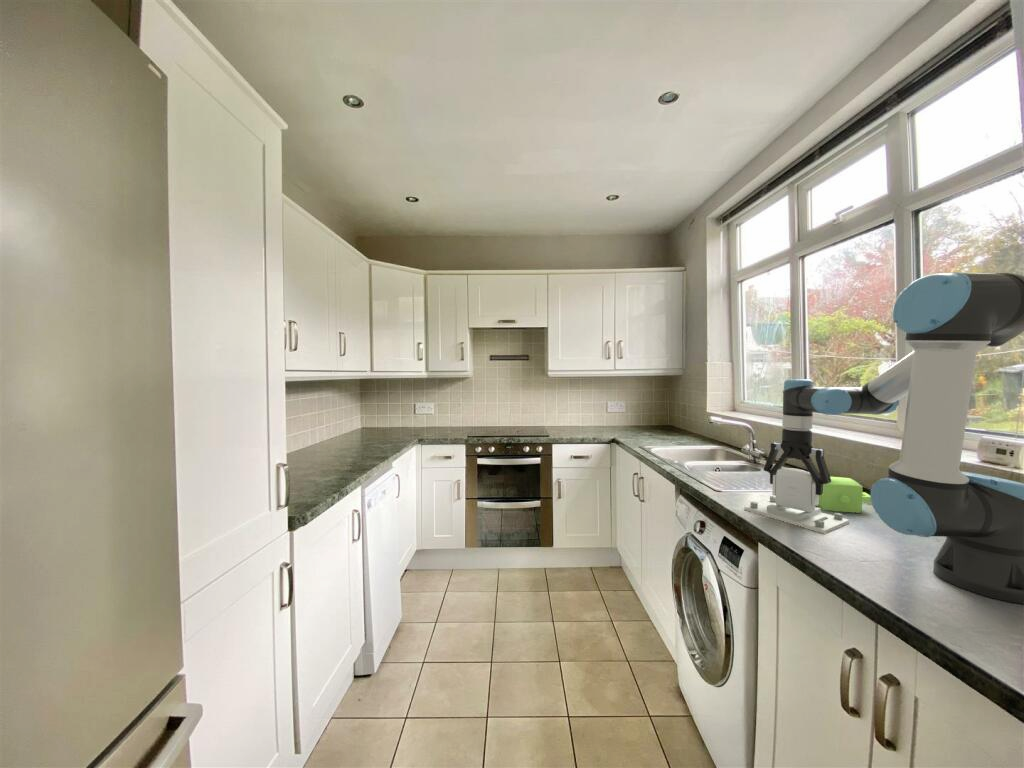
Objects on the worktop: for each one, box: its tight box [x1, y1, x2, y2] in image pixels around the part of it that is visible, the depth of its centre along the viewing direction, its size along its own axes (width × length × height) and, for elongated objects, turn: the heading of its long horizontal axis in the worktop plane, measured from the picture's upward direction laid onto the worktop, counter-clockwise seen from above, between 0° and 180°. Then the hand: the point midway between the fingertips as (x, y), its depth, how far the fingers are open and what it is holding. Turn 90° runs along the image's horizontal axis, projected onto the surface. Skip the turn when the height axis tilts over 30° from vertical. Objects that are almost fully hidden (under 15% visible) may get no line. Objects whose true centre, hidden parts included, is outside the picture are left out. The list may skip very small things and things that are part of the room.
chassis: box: [743, 495, 850, 535], centre depth 122 cm, size 22×16×2 cm
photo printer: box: [775, 467, 816, 513], centre depth 122 cm, size 10×4×12 cm, turn 39°
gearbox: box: [816, 476, 872, 513], centre depth 130 cm, size 18×10×10 cm, turn 72°
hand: (794, 499), depth 122 cm, fingers closed on photo printer, 10 cm apart
